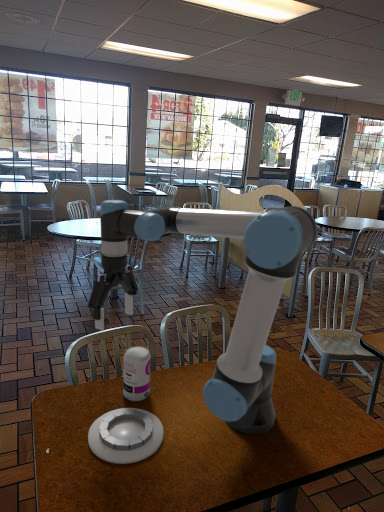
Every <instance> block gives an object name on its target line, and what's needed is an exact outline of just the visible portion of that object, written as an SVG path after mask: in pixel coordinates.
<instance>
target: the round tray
mask: <svg viewBox="0 0 384 512" xmlns="http://www.w3.org/2000/svg"><path fill="white" fill-rule="evenodd" d="M163 439H164V425H163V423H162V421H161V420H160V419H159V417H157V416H156V415H155V414H153V413H152V412H150V411H147V410H145V409H141V408H135V407H122V408H117V409H113V410H110V411H108V412H106V413H104V414H102V415H101V416H99V417H98V418H96V419H95V420H94V421H93V423H92V424H91V425H90V427H89V430H88V434H87V442H88V446H89V448H90V450H91V453H93V454H94V455H95V456H96V457H98V458H99V459H101V460H102V461H105V462H107V463H112V464H118V465H120V464H121V465H126V464H133V463H138V462H140V461H141V462H142V461H143V460H145V459H148V458H149V457H151V456H152V455H153V454H155V453H156V452H157V451H158V450H159V448H160V447H161V445H162V444H163Z"/></svg>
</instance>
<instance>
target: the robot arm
mask: <svg viewBox="0 0 384 512" xmlns="http://www.w3.org/2000/svg"><path fill="white" fill-rule="evenodd" d="M99 214H100V215H99V219H100V245H101V247H100V249H101V250H100V252H101V256H100V260H101V261H100V262H101V263H100V265H101V267H102V269H103V273H102V274H100V273H96V274H95V276H94V277H95V279H94V285H93V288H92V290H91V292H90V293H91V294H90V298H89V301H88V304H87V308H88V309H92V310H93V319H94V327H95V329H96V330H99V331H104V330H105V315H104V313H105V309H104V308H103V305H104V304H105V302H106V299H107V297H108V295H109V293H110V291H111V290H112V289H113V287H114V286H116V285H118V284H119V285H120V286H121V287H122V288H123V290H124V291H125V292H126V293H124V314H126V315H129V316H133V315H134V301H135V300H134V299H135V298H134V296H136V295H137V294H138V292H139V285H138V284H137V280H136V278H135V275H134V272H133V265H131V264H128V250H129V249H128V237H129V238H131V239H138V240H142V241H151V242H152V241H153V242H154V241H155V242H156V241H158V240H160V238H161V237H162V236H163V235H164V234H169V233H170V234H184V235H197V236H207V237H219V238H220V237H221V238H229V239H239V240H241V239H242V240H243V247H244V251H246V255H245V259H244V264H245V266H246V268H247V269H248V273H247V277H246V280H245V283H244V287H243V290H242V294H241V297H240V301H239V304H238V308H237V312H236V315H235V318H234V323H233V326H232V330H231V333H230V337H229V339H228V344H227V347H226V351H225V352H223V353H222V354H221V355H219V356H218V358H217V360H216V365H215V366H214V367H215V368H214V372H213V374H212V377H211V378H210V379H208V380H207V381H206V383H204V384H205V385H203V387H202V388H203V389H202V397H203V401H204V403H205V405H206V406H207V408H208V410H209V411H210V412H211V413H212V414H213V415H214V416H216V417H217V418H218V419H220V420H222V421H225V422H226V423H227V425H228V426H229V427H230V428H232V429H234V430H235V431H238V432H240V433H243V434H249V435H261V434H265V433H267V432H269V431H271V430H272V428H273V427H274V425H275V421H276V420H275V419H276V412H275V407H274V403H273V399H272V396H273V395H272V394H273V393H272V392H273V386H274V379H275V371H276V365H277V353H276V351H275V350H274V348H272V347H270V346H269V345H268V344H267V340H268V337H269V335H270V332H271V328H272V325H273V322H274V318H275V315H276V312H277V309H278V306H279V304H280V300H281V297H282V294H283V291H284V287H285V285H286V282H287V281H289V280H291V279H293V278H295V276H296V273H297V270H298V268H299V264H300V262H301V258H302V255H303V253H305V252H306V251H308V250H309V249H310V248H311V247H313V245H314V243H315V241H316V239H317V234H318V224H317V222H316V220H315V217H314V216H313V215H312V213H310V212H309V211H308V210H307V209H305V208H303V207H299V206H295V205H290V206H285V207H284V206H283V207H266V208H265V209H264V210H262V211H261V210H259V211H258V210H238V209H236V210H235V209H220V208H219V209H215V208H212V209H211V208H192V207H190V208H189V207H180V206H175V205H174V206H173V205H172V206H167V207H162V208H154V209H147V210H133V209H129V208H128V203H127V201H126V200H125V201H124V200H121V199H108V200H107V199H106V200H103V201H102V202H101V203H100V211H99Z"/></svg>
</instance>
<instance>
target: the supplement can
mask: <svg viewBox="0 0 384 512" xmlns="http://www.w3.org/2000/svg"><path fill="white" fill-rule="evenodd" d="M151 358H152V357H151V353H150V351H149V349H148V348H147V347H144V346H131V347H129V348H127V349H126V350H125V353H124V355H123V375H122V377H123V380H122V381H123V384H122V385H123V387H122V388H123V390H122V393H123V396H124V398H126V400H129V401H132V402H142V401H143V400H145V399H147V398H148V396H149V395H150V391H151V389H150V387H151V361H152V359H151Z"/></svg>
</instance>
